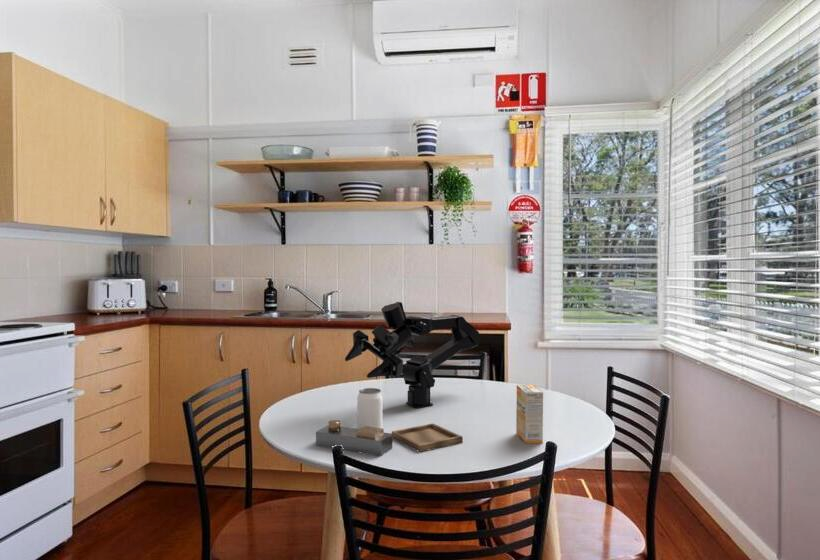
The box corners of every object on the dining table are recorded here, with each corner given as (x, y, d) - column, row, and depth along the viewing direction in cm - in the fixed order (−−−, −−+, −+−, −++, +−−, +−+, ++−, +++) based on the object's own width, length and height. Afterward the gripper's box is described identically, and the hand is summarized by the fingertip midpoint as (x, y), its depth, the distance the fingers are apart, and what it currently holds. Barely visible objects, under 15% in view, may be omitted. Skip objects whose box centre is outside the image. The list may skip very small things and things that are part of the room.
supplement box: (515, 433, 141) (515, 384, 141) (533, 433, 142) (533, 384, 141) (524, 443, 133) (525, 391, 132) (543, 443, 133) (543, 391, 133)
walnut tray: (432, 428, 145) (432, 423, 145) (462, 442, 134) (462, 436, 134) (391, 437, 138) (391, 431, 138) (419, 452, 127) (419, 445, 127)
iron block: (315, 445, 131) (315, 423, 131) (329, 438, 137) (328, 416, 137) (381, 456, 124) (381, 432, 124) (392, 447, 130) (392, 425, 130)
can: (378, 441, 134) (378, 394, 134) (354, 439, 136) (354, 392, 135) (385, 433, 141) (385, 388, 140) (361, 431, 142) (361, 387, 142)
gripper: (372, 306, 162) (333, 331, 152) (418, 336, 152) (378, 365, 143) (372, 333, 169) (335, 359, 159) (416, 363, 159) (379, 392, 149)
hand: (356, 368), depth 152 cm, fingers open, 9 cm apart
